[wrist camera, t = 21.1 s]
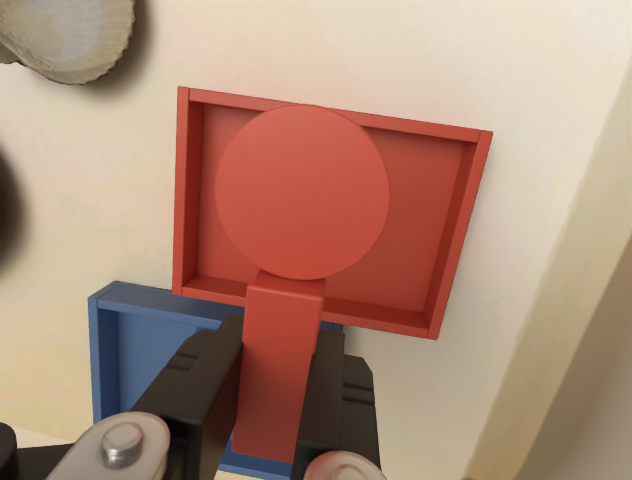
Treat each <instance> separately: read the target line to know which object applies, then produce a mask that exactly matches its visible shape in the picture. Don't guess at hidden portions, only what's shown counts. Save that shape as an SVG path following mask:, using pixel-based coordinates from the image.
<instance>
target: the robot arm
mask: <svg viewBox="0 0 632 480" xmlns="http://www.w3.org/2000/svg"><path fill="white" fill-rule="evenodd" d="M243 324H244V316H243V315H237V314H232V313H228V314H227V315H226V317H225V318H224V320H223V321H222V323H221V324H220V326H219V327H218V329H217V330H216V331H213V330H207V329H202V330H200V331H199V332H197V333H195V334H193V335H192V336H190V337H188V338H186V340H185V341H184V342H183V343H182V345H181V346H180V347H179V348H178V350H177V351H176V353H175V355H173V356H172V357H171V359H170V360H169V361H168V362H167V364H166V367H163V369H162V370H161V371H160V372H159V374H158V375H157V376H156V377H155V379H154V380H153V381H152V383H151V384H150V385H149V386H148V388H147V389H146V390H145V391H144V393H143V394H142V395H141V396H140V398H139V399H138V400H137V401H136V403H135V404H134V405H133V407H132V408H131V409H130V410H129V412H125V413H120V414H116V415H113V416H110V417H108V418H105V419H103V420H101V421H99V422H98V423H96V424H95V425H93V426H91V427H90V428H89V429H88V430H87V431H85V432H84V433H83V434H82V435H81V436H80V437H79V439H78V440H77V441H76V442H75V443H71V444H64V445H54V446H43V447H30V448H19V449H17V441H16V435H15V432H14V430H13V429H12V428H11V427H10V426H8V425H7V424H5V423H1V422H0V480H214V477H215V474H216V472H217V469H218V467H219V464H220V462H221V459H222V457H223V454H224V452H225V449H226V447H227V444H228V441H229V439H230V436H231V434H232V431H233V429H234V426H235V421H236V411H237V401H238V391H239V381H240V371H241V361H242V351H243V342H242V334H243ZM344 339H345V334H343V333H338V332H332V331H326V330H321V329H319V335H318V340H317V346H316V352H315V354H312V357H311V362H310V368H309V374H308V379H307V385H306V390H305V396H304V402H303V407H302V413H301V419H300V424H299V430H298V435H297V441H296V447H295V453H294V459H293V465H292V471H291V478H290V480H387V479H386V477H385V476H384V474H383V473H382V470H381V465H380V455H379V444H378V432H377V420H376V409H375V397H374V392H373V391H374V385H373V374H372V371H371V370H370V368H369V367H368V365H367V363H366V362H365V360H364V359H363V358H362V357H356V356H350V355H345V354H344Z"/></svg>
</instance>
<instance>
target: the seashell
mask: <svg viewBox="0 0 632 480" xmlns="http://www.w3.org/2000/svg"><path fill="white" fill-rule="evenodd" d="M135 3H136V0H0V63H4V64H12V63H13V62H18V63H19V64H20V65H23V66H26V67H29V68H31V69H32V70H34V71H36V72H38V73H40V74H41V75H43V76H45V77H46V78H48V79H50V80H52V81H55V82H57V83H60V84H67V85H74V84H80V85H83V84H86V83H89V82H90V81H95V80H97V79H99V78H101V77H102V76H106V75H107V74H108V72H109V71H111V70H112V69H113V68H114V67H115V66H116V65H117V62H118V61H119V60H120V59H121V58H122V57H123V55H124V50H125V49H127V48H128V46H129V44H130V42H129V39H130V37H131V36H133V34H134V33H133V31H134V27H133V22H135V21H136V12H135V9H134V5H135Z"/></svg>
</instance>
